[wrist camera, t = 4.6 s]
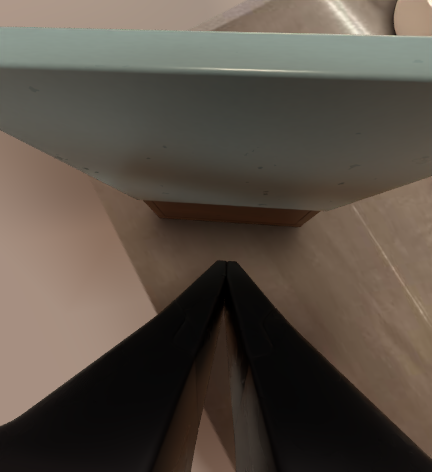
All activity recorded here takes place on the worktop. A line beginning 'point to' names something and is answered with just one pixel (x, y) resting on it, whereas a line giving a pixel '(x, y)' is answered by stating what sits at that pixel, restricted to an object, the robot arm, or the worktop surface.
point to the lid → (224, 112)
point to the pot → (413, 18)
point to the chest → (231, 213)
